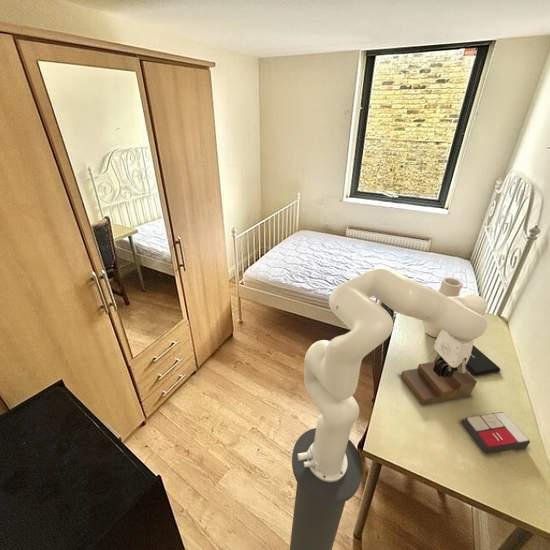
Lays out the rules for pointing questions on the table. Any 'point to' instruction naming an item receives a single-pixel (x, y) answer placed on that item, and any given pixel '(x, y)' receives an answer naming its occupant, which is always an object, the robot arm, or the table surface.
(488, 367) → the laptop
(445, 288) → the vase
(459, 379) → the wooden stair steps
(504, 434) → the red grey flat block
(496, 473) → the table surface
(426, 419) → the table surface
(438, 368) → the clip
